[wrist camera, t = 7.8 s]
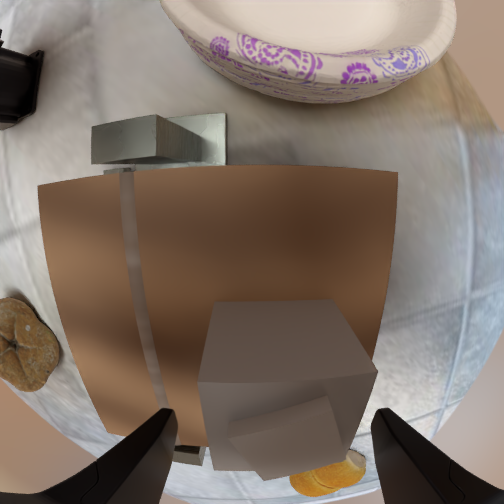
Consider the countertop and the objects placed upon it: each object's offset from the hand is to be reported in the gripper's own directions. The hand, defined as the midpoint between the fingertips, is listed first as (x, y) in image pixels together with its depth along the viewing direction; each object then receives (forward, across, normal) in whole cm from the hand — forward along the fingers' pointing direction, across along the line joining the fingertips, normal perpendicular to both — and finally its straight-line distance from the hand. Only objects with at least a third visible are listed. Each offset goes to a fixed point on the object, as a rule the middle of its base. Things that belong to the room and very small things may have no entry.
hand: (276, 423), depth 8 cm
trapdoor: (+10, +3, 0) cm, 10 cm away
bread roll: (+12, -7, +24) cm, 28 cm away
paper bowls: (+12, -2, -19) cm, 22 cm away
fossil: (+12, +25, +6) cm, 28 cm away
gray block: (+4, 0, 0) cm, 4 cm away
